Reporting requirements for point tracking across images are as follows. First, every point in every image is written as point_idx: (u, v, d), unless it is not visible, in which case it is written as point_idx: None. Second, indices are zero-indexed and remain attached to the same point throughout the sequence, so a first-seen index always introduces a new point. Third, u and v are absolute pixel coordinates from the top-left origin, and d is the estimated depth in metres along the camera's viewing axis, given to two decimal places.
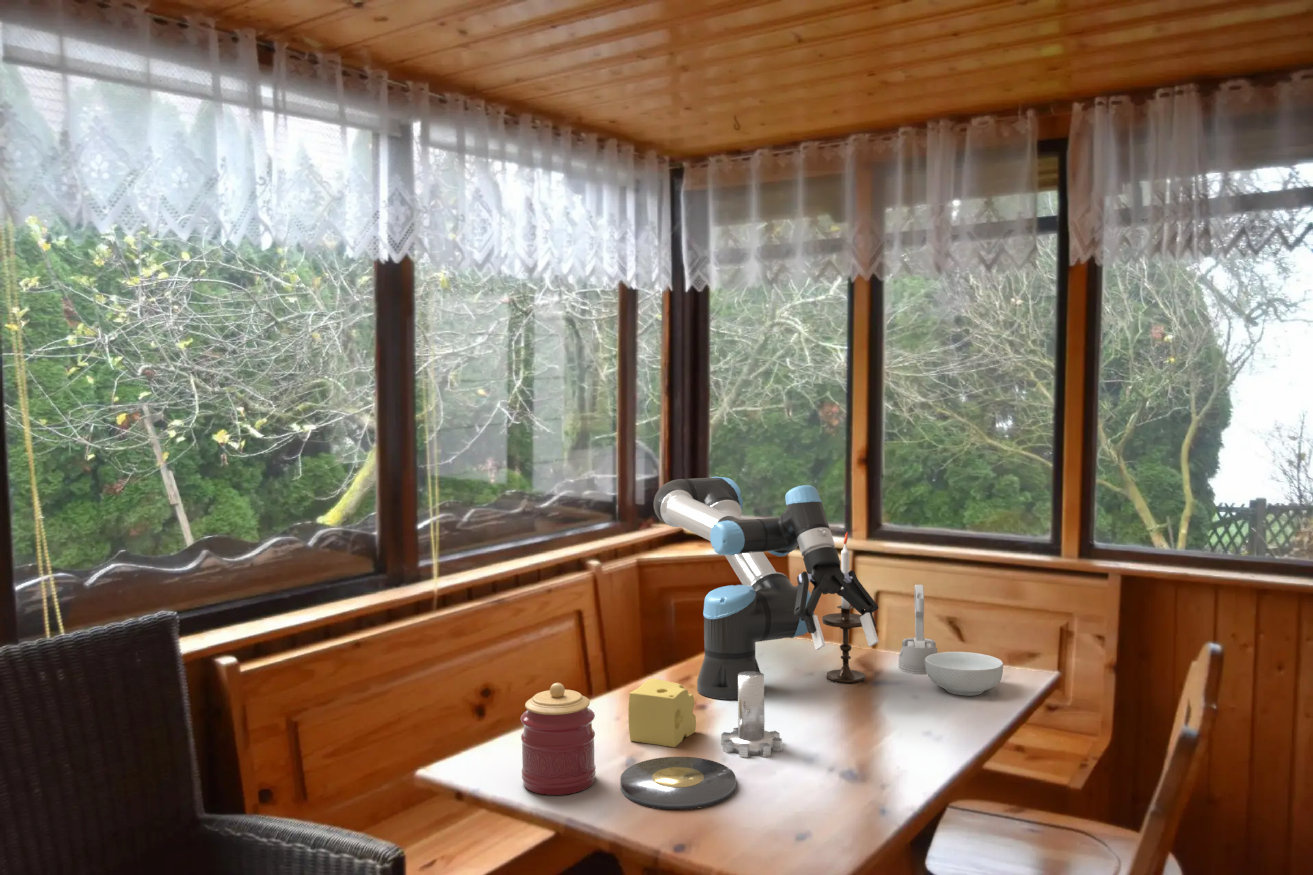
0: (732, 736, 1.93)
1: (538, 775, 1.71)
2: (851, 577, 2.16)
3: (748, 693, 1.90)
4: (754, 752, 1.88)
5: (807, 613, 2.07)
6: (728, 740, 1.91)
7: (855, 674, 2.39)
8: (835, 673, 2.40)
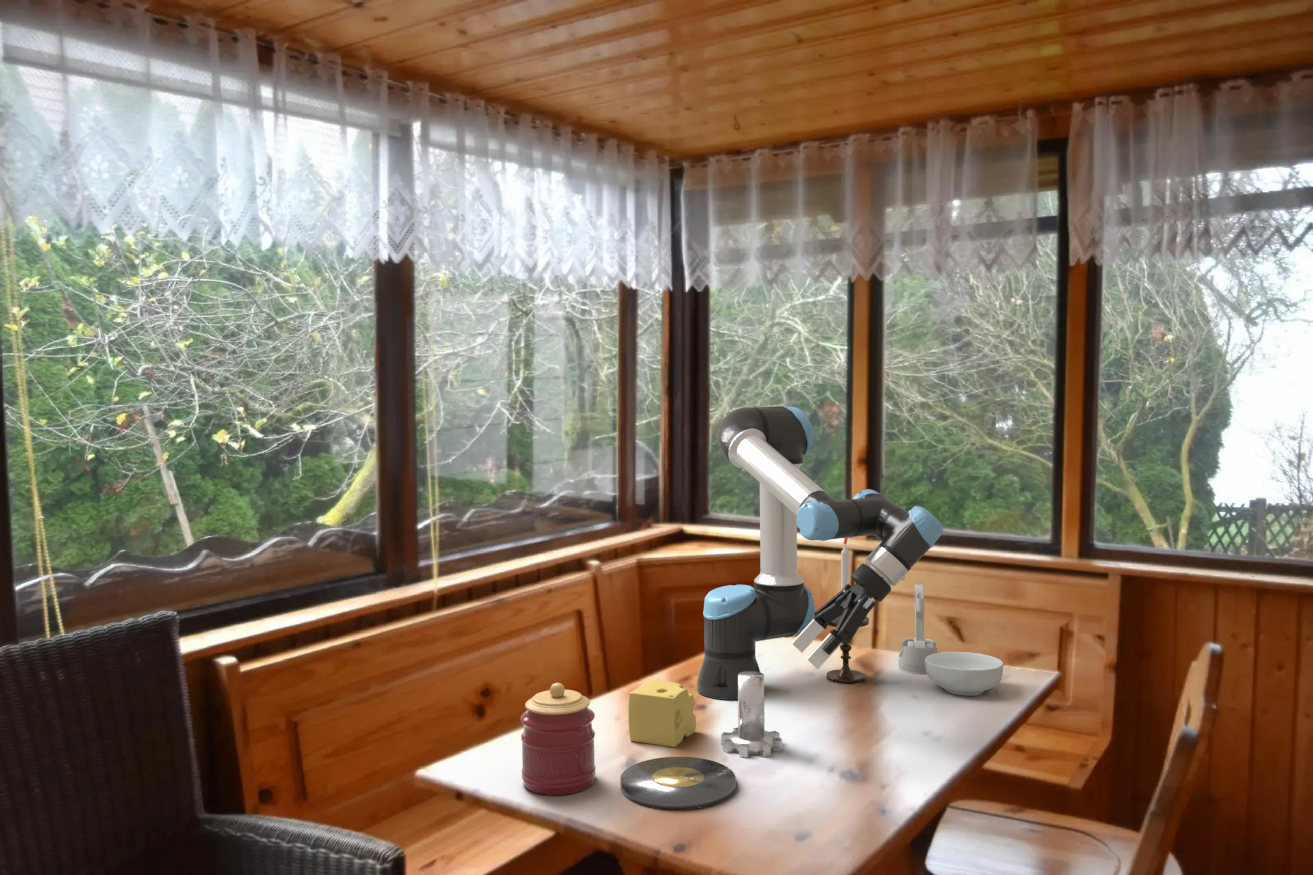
0: (732, 736, 1.93)
1: (538, 775, 1.71)
2: None
3: (748, 693, 1.90)
4: (754, 752, 1.88)
5: None
6: (728, 740, 1.91)
7: (855, 674, 2.39)
8: (835, 673, 2.40)
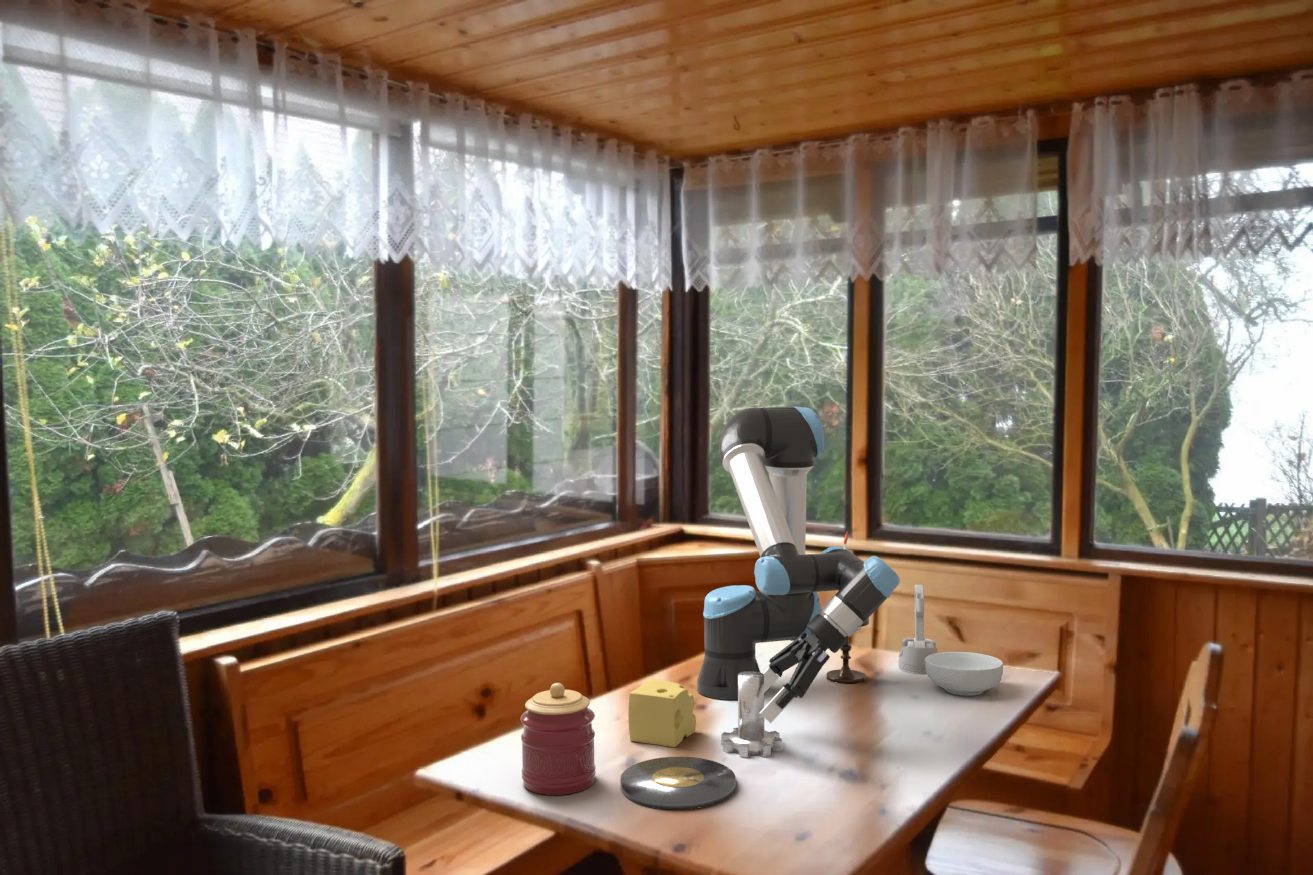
0: (732, 736, 1.93)
1: (538, 775, 1.71)
2: None
3: (748, 693, 1.90)
4: (754, 752, 1.88)
5: None
6: (728, 740, 1.91)
7: (855, 674, 2.39)
8: (835, 673, 2.40)
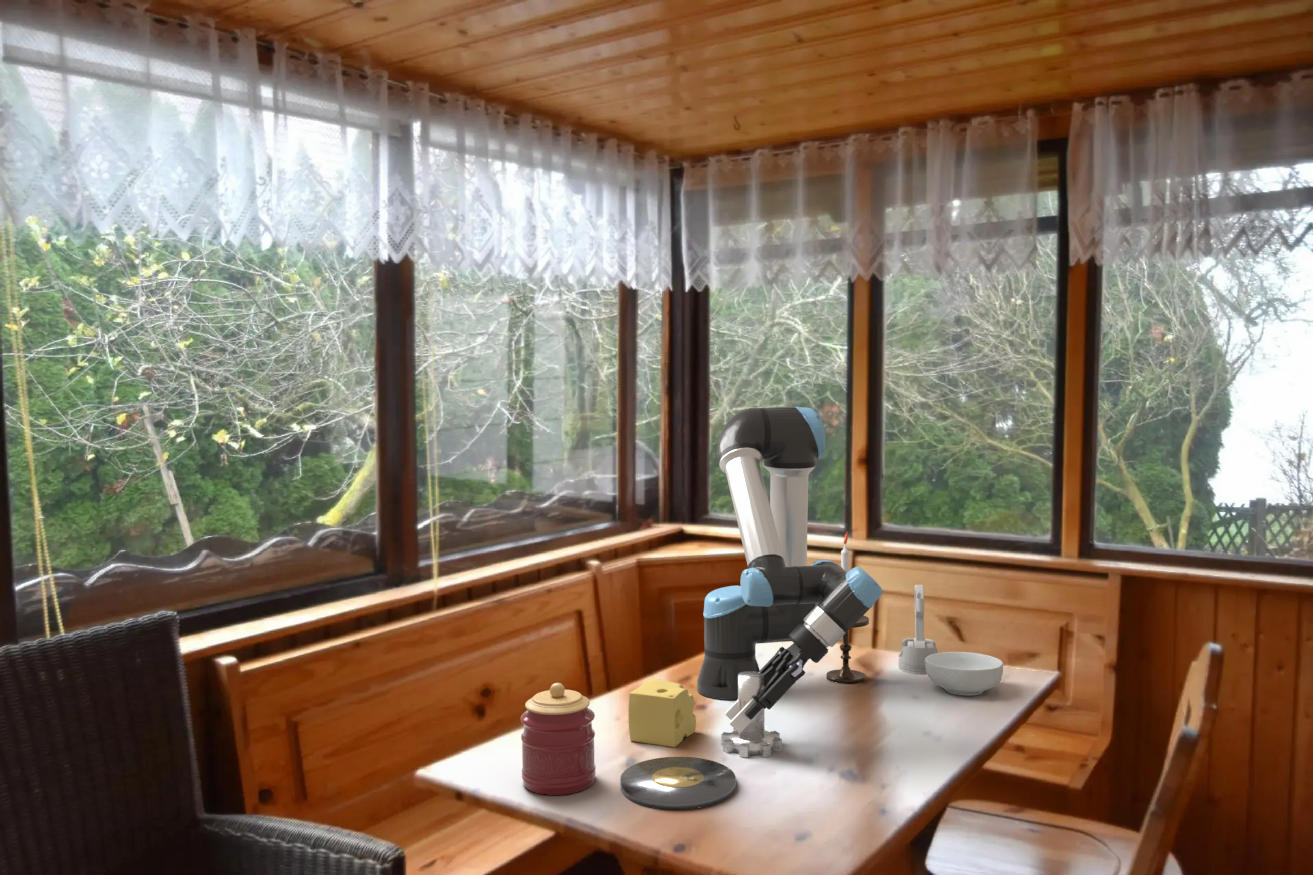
0: (732, 736, 1.93)
1: (538, 775, 1.71)
2: None
3: (748, 693, 1.90)
4: (754, 752, 1.88)
5: (764, 707, 1.88)
6: (728, 740, 1.91)
7: (855, 674, 2.39)
8: (835, 673, 2.40)
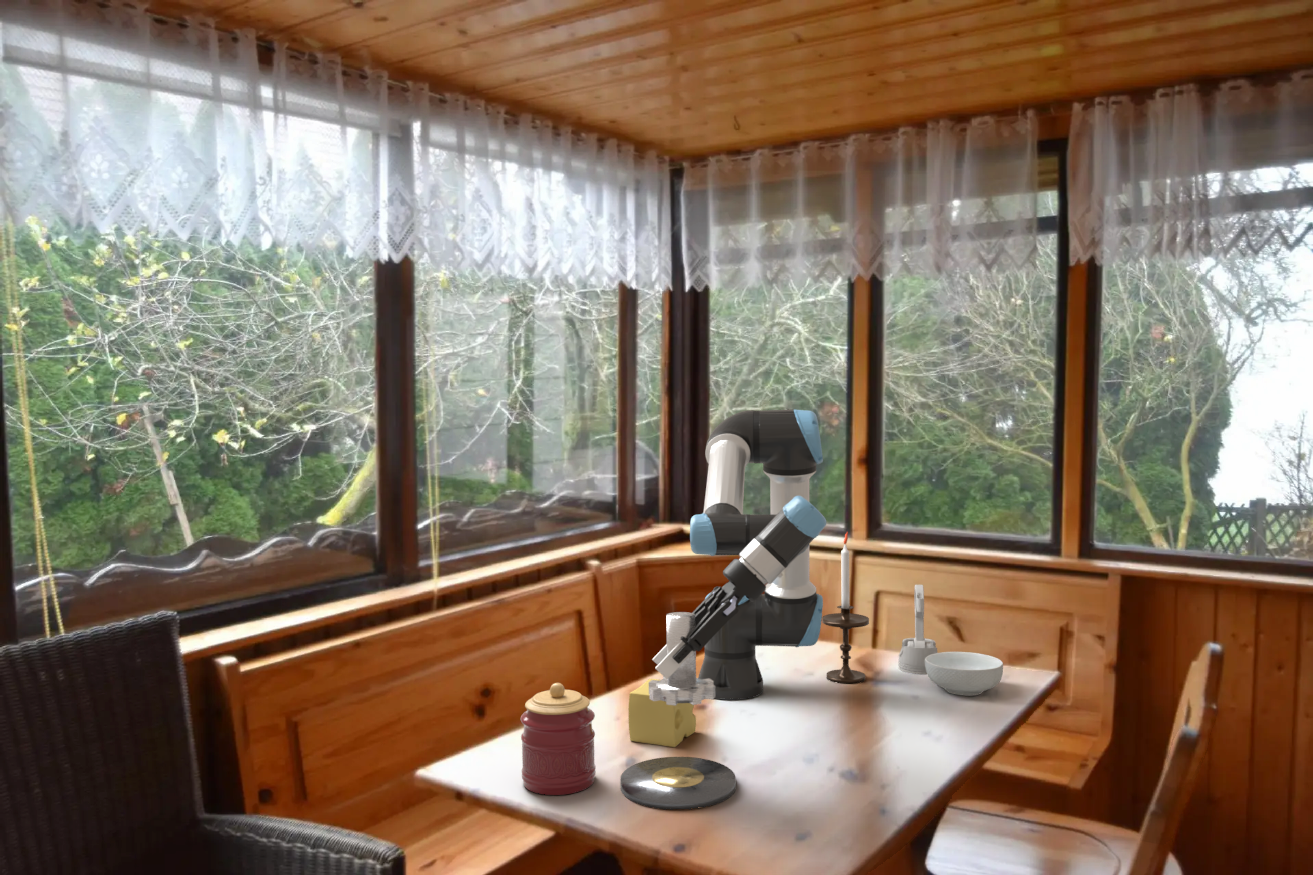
0: (660, 683, 1.73)
1: (538, 775, 1.71)
2: None
3: (677, 635, 1.71)
4: (683, 700, 1.69)
5: (693, 649, 1.69)
6: (655, 687, 1.71)
7: (855, 674, 2.39)
8: (835, 673, 2.40)
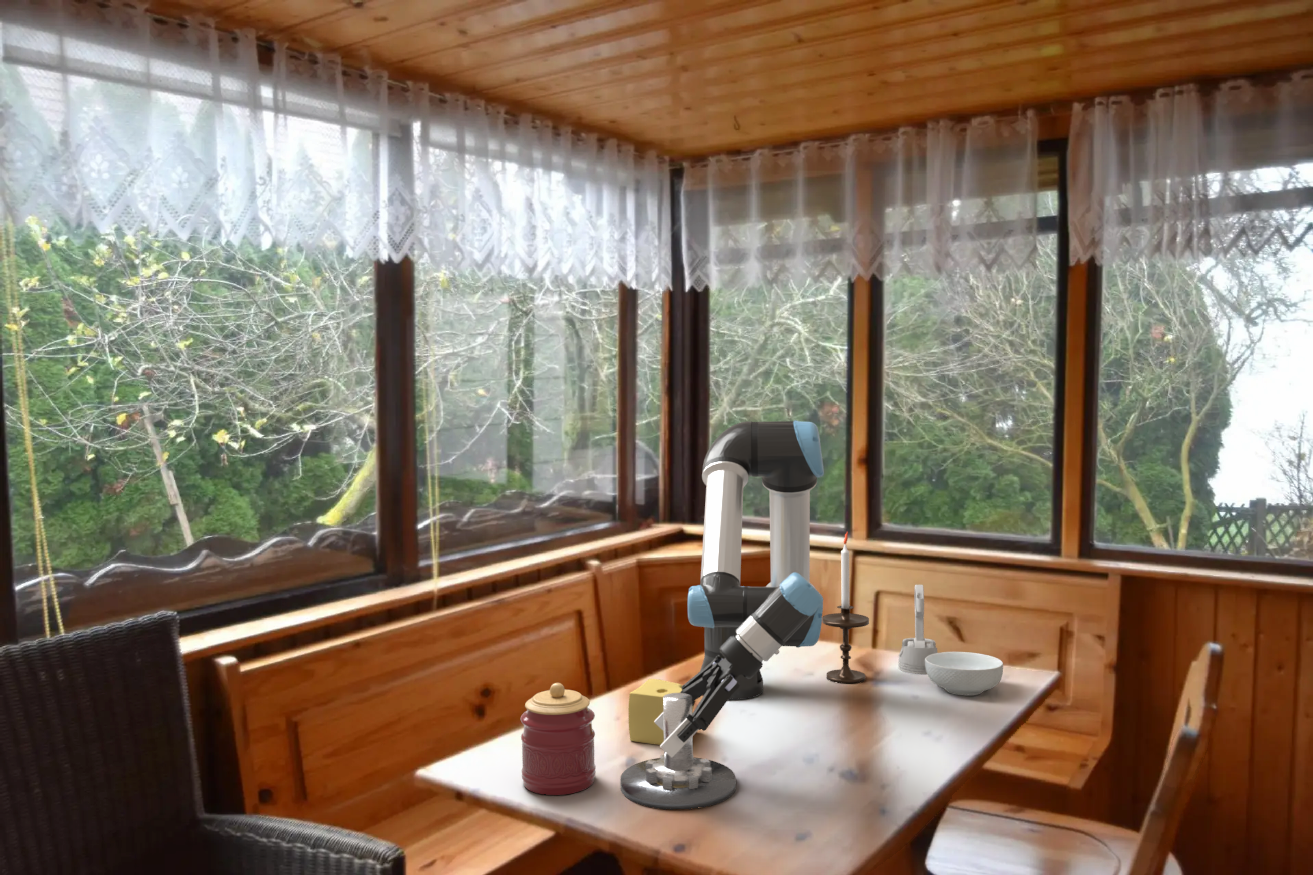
0: (657, 765, 1.74)
1: (538, 775, 1.71)
2: None
3: (674, 718, 1.71)
4: (679, 783, 1.70)
5: None
6: (652, 770, 1.72)
7: (855, 674, 2.39)
8: (835, 673, 2.40)
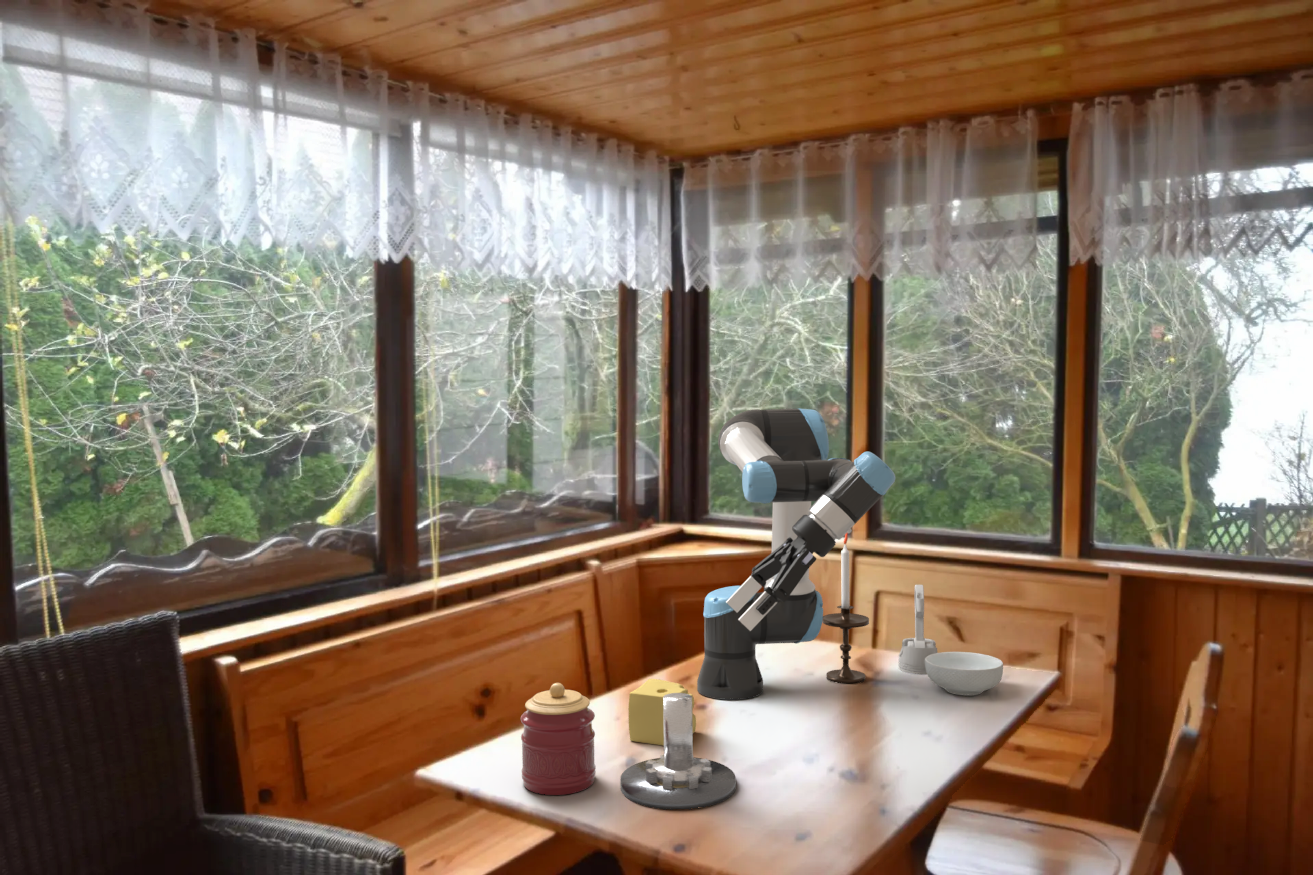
0: (657, 765, 1.74)
1: (538, 775, 1.71)
2: None
3: (674, 718, 1.71)
4: (679, 783, 1.70)
5: (779, 599, 1.66)
6: (652, 770, 1.72)
7: (855, 674, 2.39)
8: (835, 673, 2.40)
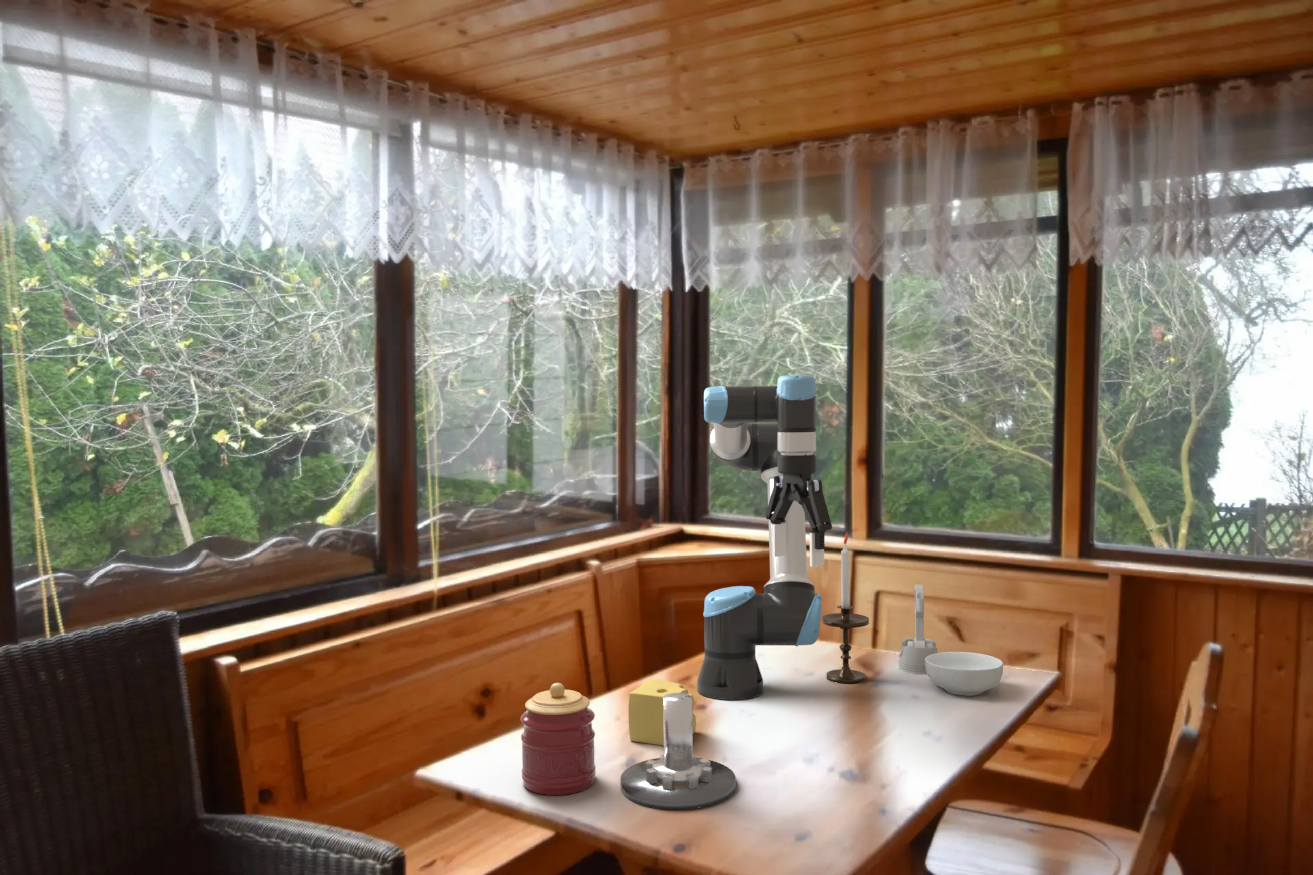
0: (657, 765, 1.74)
1: (538, 775, 1.71)
2: None
3: (674, 718, 1.71)
4: (679, 783, 1.70)
5: None
6: (652, 770, 1.72)
7: (855, 674, 2.39)
8: (835, 673, 2.40)
